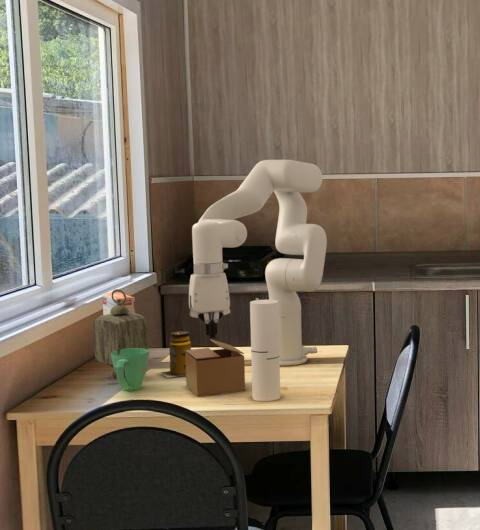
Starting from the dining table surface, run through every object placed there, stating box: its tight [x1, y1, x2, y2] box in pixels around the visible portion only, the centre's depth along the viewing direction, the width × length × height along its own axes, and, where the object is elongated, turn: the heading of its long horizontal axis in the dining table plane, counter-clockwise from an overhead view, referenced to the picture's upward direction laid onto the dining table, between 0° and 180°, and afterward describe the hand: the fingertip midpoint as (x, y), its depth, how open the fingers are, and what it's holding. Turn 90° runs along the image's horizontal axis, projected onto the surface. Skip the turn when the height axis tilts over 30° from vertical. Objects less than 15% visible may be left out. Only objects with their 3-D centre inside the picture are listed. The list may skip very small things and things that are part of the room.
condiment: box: [159, 330, 192, 379], centre depth 255 cm, size 7×8×12 cm
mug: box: [111, 348, 150, 392], centre depth 236 cm, size 15×10×10 cm
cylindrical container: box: [249, 299, 281, 402], centre depth 227 cm, size 7×7×25 cm
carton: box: [185, 347, 246, 397], centre depth 237 cm, size 13×12×10 cm
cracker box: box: [102, 292, 136, 315], centre depth 269 cm, size 14×6×21 cm, turn 34°
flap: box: [209, 338, 245, 355], centre depth 238 cm, size 6×12×1 cm, turn 27°
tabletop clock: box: [92, 288, 149, 379], centre depth 251 cm, size 14×9×25 cm, turn 50°
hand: (211, 337), depth 236 cm, fingers closed
